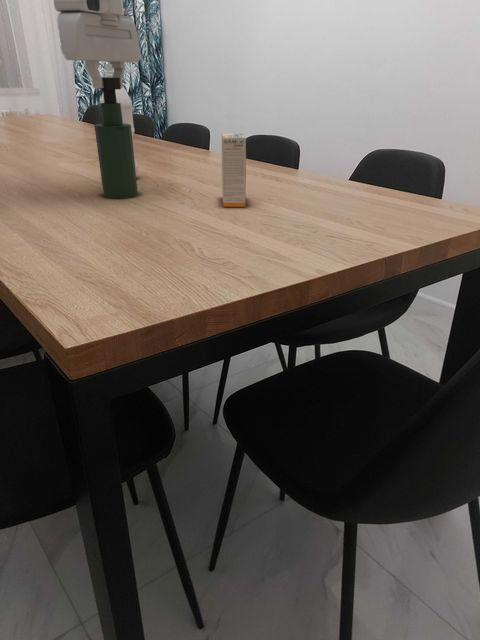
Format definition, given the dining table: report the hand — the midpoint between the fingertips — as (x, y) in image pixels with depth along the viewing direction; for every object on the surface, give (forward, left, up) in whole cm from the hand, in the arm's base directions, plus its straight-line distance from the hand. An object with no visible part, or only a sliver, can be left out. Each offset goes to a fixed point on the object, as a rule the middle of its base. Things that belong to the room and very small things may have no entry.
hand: (108, 88), depth 99 cm
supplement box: (+16, -20, -21) cm, 33 cm away
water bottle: (+9, +17, -21) cm, 28 cm away
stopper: (0, 0, -4) cm, 4 cm away
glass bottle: (0, 0, -21) cm, 21 cm away
